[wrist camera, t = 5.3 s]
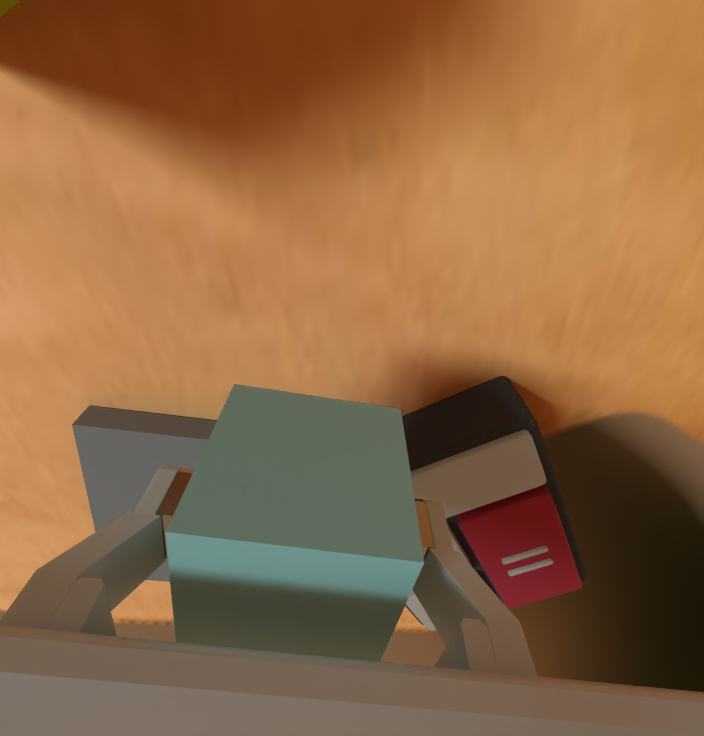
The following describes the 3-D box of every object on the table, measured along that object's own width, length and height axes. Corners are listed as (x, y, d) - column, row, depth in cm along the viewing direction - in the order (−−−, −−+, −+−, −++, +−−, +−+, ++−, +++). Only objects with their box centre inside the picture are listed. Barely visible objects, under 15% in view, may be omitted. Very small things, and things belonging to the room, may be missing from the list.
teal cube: (400, 408, 12) (424, 562, 8) (368, 516, 15) (373, 676, 11) (234, 384, 12) (165, 532, 8) (230, 498, 14) (177, 658, 10)
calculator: (425, 640, 27) (311, 514, 19) (413, 576, 30) (313, 448, 23) (596, 593, 24) (543, 428, 17) (561, 530, 28) (505, 370, 20)
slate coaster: (326, 433, 22) (326, 452, 20) (301, 569, 28) (300, 590, 26) (89, 405, 20) (72, 424, 19) (117, 554, 26) (105, 576, 25)
